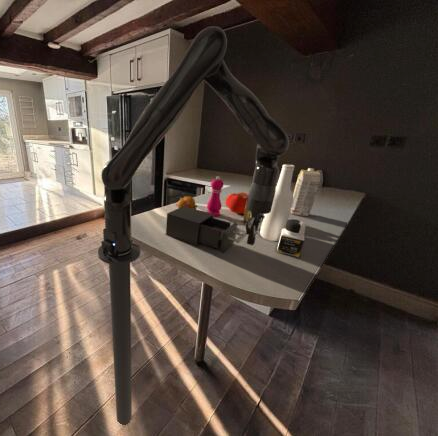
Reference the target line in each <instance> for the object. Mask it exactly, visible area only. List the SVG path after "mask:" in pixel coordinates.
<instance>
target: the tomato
mask: <svg viewBox="0 0 438 436" xmlns="http://www.w3.org/2000/svg"><path fill="white" fill-rule="evenodd" d="M248 195H249V193H246V192H237V193H235V192H233V193H230V194H229V195H228V196H227V197H226V199H225V207H226V208H228V209H229V210H230V211H231V212H232V213H235V214H240V215H244V212H245V206H246V200H247V197H248Z"/></svg>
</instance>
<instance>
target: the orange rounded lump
mask: <svg viewBox="0 0 438 436" xmlns="http://www.w3.org/2000/svg"><path fill="white" fill-rule="evenodd" d="M183 206H185V207H189V208H193V209H196V210H198V207H199V206H198V205H197V204H196V200H195V198H194V197H192V196H189V195H187V196H185V195H184V196H182V197H181V198H180V199H179V200H178V202H177V204H176V207H177V209H178V208H180V207H183Z"/></svg>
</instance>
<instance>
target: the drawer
mask: <svg viewBox="0 0 438 436" xmlns="http://www.w3.org/2000/svg"><path fill="white" fill-rule="evenodd" d="M214 226H216V227H219V228H222V229H225V231H224V232H223V235H222V241H221V242H220V243H219V239H220V233H221V230H219V229H215V228H212V227H214ZM238 227H239V223H238V222H233V224H232V222H229V221H226V220H223V219H219V218H215V217H214V218H212V217H211V218H210V219H208V220H206V221H205V222H203V223H202V224H200V228H199V237H198V242H200V244H203V245H206V246H209V247H211V248H215V249H218V248H219V252H220V253H224V252H225V251H226V250H227V249H228V248H230V247H231V246H232V245H233V243H236V244H239V243H241V241H243V239H245V237H246V236H247V234H246V233H239V232H238ZM236 236H238V237H237V238H236Z"/></svg>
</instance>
